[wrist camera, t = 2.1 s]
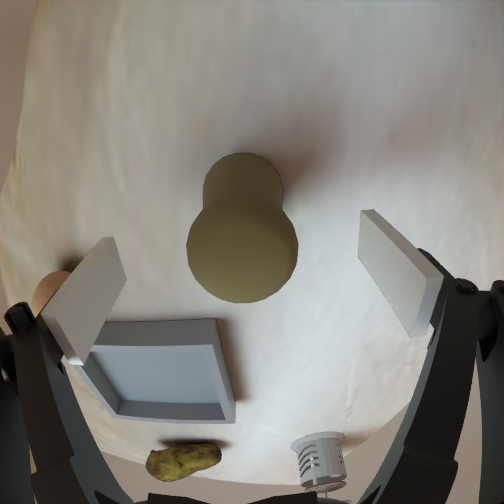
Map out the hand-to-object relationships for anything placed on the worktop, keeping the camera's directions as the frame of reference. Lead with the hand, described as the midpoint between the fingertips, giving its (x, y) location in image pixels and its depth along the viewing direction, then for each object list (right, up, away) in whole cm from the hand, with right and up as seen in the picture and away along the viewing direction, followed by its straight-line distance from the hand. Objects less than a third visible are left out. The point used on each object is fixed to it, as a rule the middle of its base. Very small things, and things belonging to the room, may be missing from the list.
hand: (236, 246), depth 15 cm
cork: (0, +4, +7) cm, 8 cm away
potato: (-11, -34, +28) cm, 45 cm away
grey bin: (-11, -14, +17) cm, 24 cm away
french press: (+12, -35, +29) cm, 47 cm away
